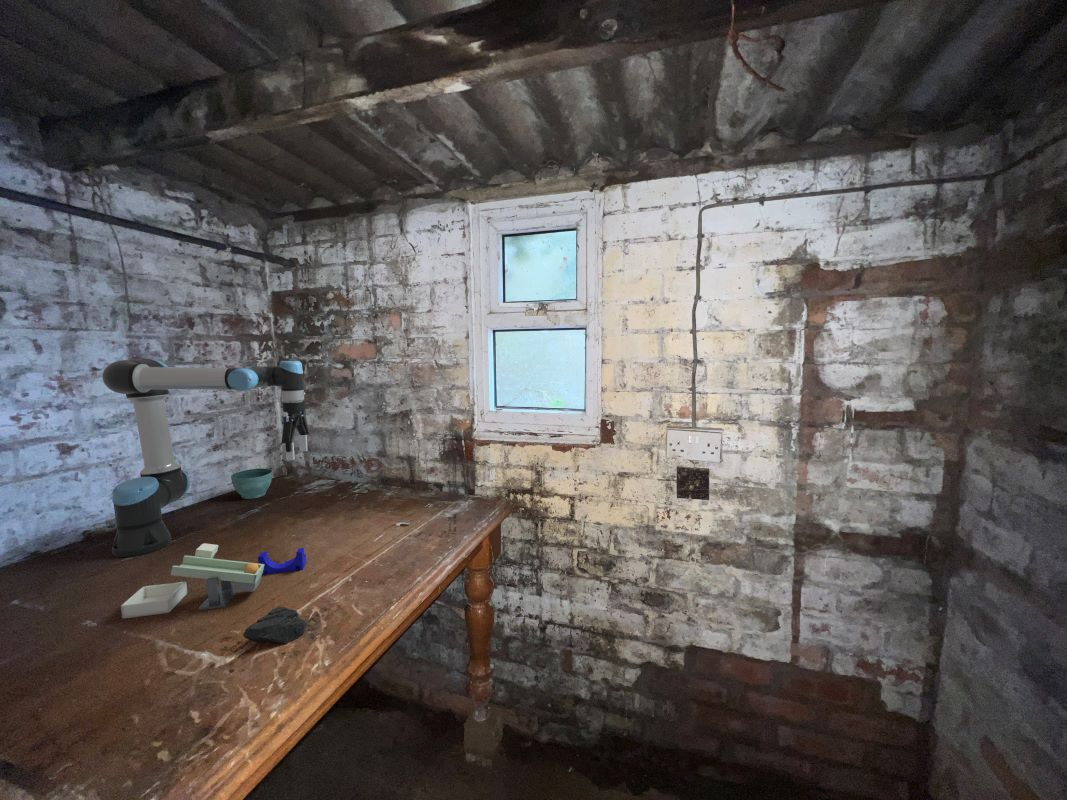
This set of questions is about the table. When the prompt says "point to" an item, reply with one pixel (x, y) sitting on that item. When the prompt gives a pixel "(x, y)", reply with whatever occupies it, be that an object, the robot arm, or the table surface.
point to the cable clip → (290, 565)
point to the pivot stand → (218, 594)
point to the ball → (251, 568)
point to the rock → (276, 627)
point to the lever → (218, 569)
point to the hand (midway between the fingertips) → (297, 455)
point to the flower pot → (252, 482)
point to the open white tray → (154, 600)
